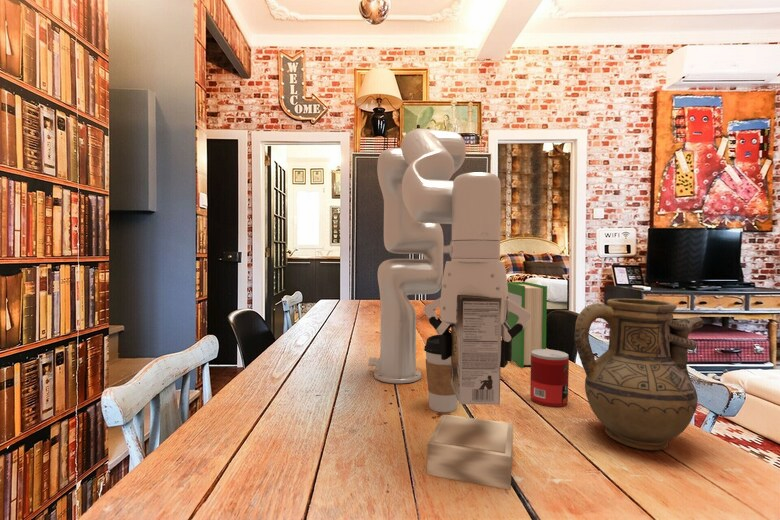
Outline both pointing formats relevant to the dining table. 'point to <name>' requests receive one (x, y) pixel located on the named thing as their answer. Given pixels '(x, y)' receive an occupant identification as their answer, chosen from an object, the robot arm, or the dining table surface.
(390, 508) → the dining table surface
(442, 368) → the coffee cup
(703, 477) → the dining table surface
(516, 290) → the hardback book
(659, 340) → the decorative pitcher
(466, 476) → the beige square tray
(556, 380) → the canned food
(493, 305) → the coffee box
